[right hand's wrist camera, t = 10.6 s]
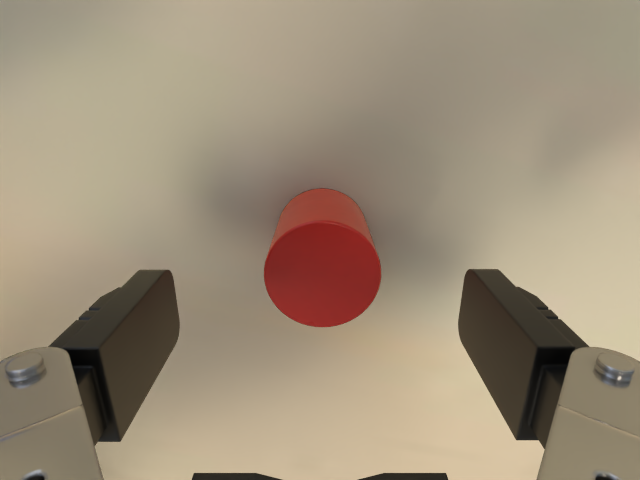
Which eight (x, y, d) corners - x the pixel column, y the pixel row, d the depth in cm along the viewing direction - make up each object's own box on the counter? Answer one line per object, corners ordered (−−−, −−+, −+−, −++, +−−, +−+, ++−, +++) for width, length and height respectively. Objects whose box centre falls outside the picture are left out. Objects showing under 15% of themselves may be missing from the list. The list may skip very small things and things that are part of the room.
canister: (375, 260, 18) (392, 313, 13) (292, 280, 18) (283, 338, 14) (354, 177, 16) (367, 207, 12) (266, 201, 17) (247, 238, 12)
